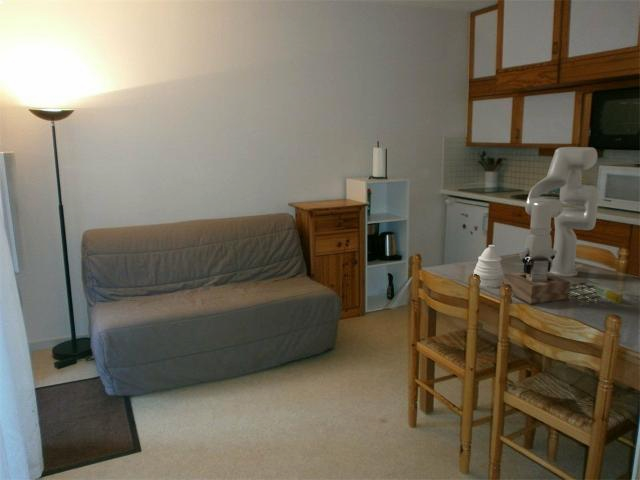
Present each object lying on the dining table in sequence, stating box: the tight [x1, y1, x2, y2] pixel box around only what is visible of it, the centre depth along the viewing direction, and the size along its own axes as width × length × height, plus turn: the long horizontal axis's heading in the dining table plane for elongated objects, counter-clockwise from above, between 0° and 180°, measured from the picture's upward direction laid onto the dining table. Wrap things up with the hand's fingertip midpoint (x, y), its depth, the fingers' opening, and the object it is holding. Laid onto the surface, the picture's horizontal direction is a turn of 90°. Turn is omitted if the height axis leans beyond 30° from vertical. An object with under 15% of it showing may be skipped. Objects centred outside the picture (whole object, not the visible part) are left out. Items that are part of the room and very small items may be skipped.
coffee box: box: [526, 258, 549, 283], centre depth 213 cm, size 9×6×16 cm
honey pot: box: [473, 244, 504, 288], centre depth 232 cm, size 13×13×18 cm
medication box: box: [595, 284, 623, 304], centre depth 211 cm, size 12×3×4 cm, turn 13°
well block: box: [503, 271, 571, 306], centre depth 214 cm, size 18×18×8 cm
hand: (536, 272), depth 213 cm, fingers open, 9 cm apart
